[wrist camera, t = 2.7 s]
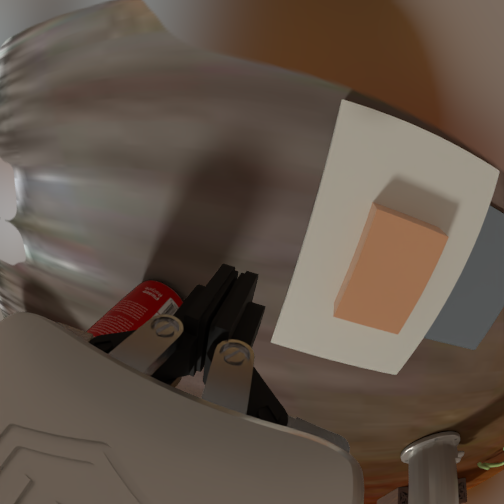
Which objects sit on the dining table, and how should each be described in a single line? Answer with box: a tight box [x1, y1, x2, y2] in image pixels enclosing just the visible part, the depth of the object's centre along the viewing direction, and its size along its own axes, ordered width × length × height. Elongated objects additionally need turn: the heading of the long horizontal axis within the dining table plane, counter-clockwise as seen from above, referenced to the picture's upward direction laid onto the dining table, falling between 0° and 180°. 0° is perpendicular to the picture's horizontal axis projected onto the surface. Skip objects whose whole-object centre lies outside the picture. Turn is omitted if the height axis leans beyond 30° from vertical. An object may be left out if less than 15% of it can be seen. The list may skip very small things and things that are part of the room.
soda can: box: [86, 280, 183, 337], centre depth 27 cm, size 8×8×15 cm
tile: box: [333, 202, 449, 334], centre depth 19 cm, size 6×9×2 cm, turn 168°
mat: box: [424, 205, 504, 350], centre depth 21 cm, size 12×16×1 cm
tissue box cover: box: [377, 478, 467, 504], centre depth 40 cm, size 26×14×10 cm, turn 87°
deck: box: [271, 99, 500, 375], centre depth 22 cm, size 14×22×4 cm, turn 168°
